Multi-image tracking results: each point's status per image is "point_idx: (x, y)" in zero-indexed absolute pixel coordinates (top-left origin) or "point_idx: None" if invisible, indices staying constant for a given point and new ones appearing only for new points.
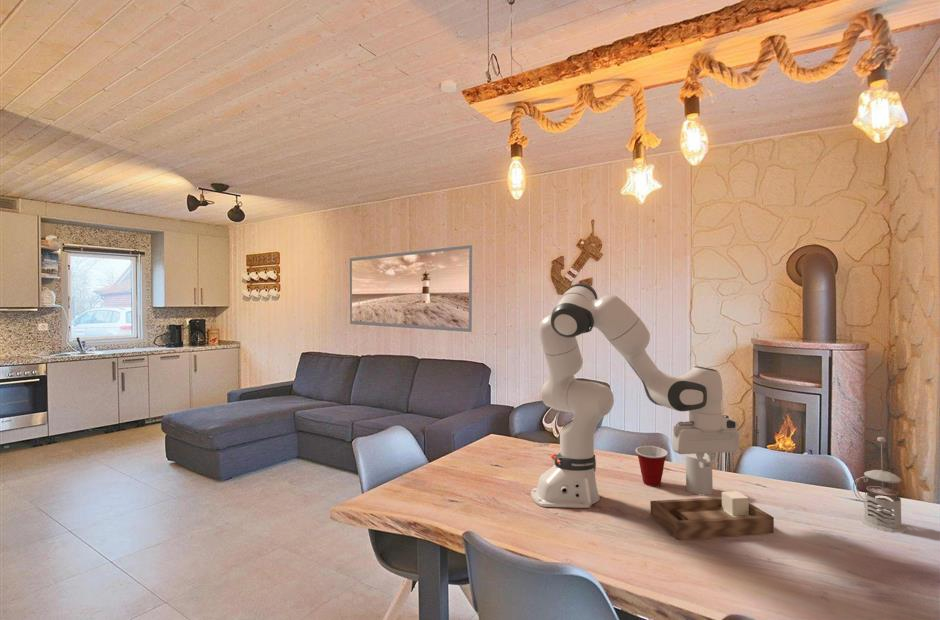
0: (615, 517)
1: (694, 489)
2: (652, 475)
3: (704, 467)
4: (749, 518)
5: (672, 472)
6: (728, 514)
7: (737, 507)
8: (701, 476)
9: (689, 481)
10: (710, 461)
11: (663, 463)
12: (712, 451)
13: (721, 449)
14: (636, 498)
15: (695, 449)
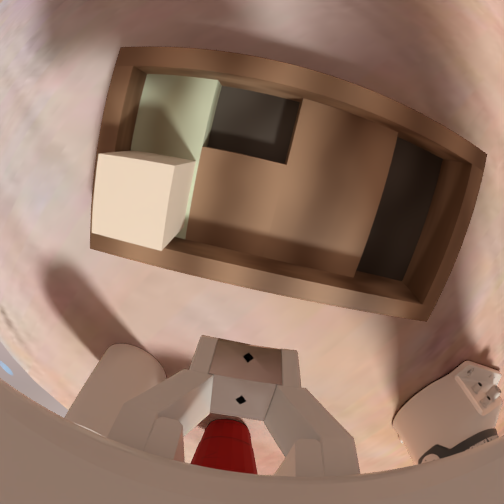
0: (468, 312)
1: (156, 371)
2: (240, 444)
3: (281, 349)
4: (217, 52)
5: None
6: (201, 176)
7: (164, 158)
8: (125, 390)
9: None
10: (207, 378)
11: (202, 465)
12: (174, 481)
13: (12, 431)
14: (341, 387)
15: (474, 492)
